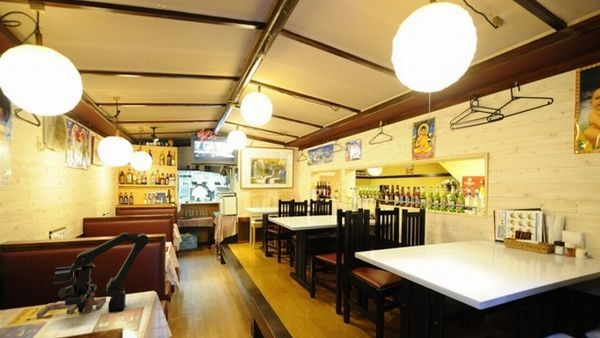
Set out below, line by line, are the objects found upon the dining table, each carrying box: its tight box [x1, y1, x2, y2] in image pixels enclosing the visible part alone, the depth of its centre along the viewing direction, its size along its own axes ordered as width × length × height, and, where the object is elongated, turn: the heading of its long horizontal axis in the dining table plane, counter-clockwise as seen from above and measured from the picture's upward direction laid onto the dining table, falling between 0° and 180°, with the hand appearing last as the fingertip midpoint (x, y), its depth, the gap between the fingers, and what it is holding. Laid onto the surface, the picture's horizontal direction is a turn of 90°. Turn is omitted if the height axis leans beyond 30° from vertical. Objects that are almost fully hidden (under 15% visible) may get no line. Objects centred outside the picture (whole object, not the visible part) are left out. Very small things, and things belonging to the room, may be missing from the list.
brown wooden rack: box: [36, 296, 107, 319], centre depth 139 cm, size 25×10×3 cm, turn 110°
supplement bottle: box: [77, 288, 96, 314], centre depth 137 cm, size 6×6×11 cm
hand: (80, 312), depth 131 cm, fingers closed
